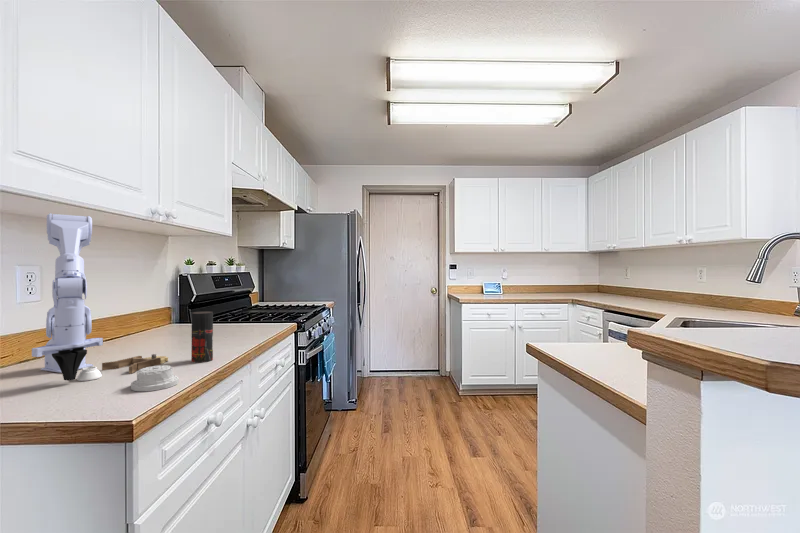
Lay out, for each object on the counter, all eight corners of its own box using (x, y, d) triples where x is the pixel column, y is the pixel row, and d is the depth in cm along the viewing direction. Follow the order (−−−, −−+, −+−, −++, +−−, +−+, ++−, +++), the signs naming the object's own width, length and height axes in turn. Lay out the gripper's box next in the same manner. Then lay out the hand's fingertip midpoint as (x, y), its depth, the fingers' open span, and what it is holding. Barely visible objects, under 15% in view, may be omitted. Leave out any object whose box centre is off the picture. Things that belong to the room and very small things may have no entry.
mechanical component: (120, 391, 91) (155, 394, 89) (120, 372, 91) (155, 375, 89) (154, 379, 101) (187, 381, 99) (155, 362, 101) (187, 364, 99)
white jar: (83, 377, 102) (72, 382, 97) (83, 366, 102) (72, 371, 97) (105, 376, 103) (95, 381, 99) (105, 365, 103) (95, 369, 99)
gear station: (100, 370, 108) (100, 361, 108) (150, 358, 123) (150, 350, 123) (130, 374, 105) (130, 365, 105) (179, 361, 119) (179, 353, 119)
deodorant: (189, 360, 120) (189, 312, 120) (209, 357, 124) (209, 311, 124) (194, 363, 116) (194, 314, 116) (215, 360, 120) (215, 312, 120)
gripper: (45, 330, 88) (45, 390, 88) (111, 322, 102) (110, 373, 102) (26, 329, 90) (25, 386, 90) (92, 320, 104) (92, 371, 104)
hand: (69, 379), depth 96 cm, fingers closed
